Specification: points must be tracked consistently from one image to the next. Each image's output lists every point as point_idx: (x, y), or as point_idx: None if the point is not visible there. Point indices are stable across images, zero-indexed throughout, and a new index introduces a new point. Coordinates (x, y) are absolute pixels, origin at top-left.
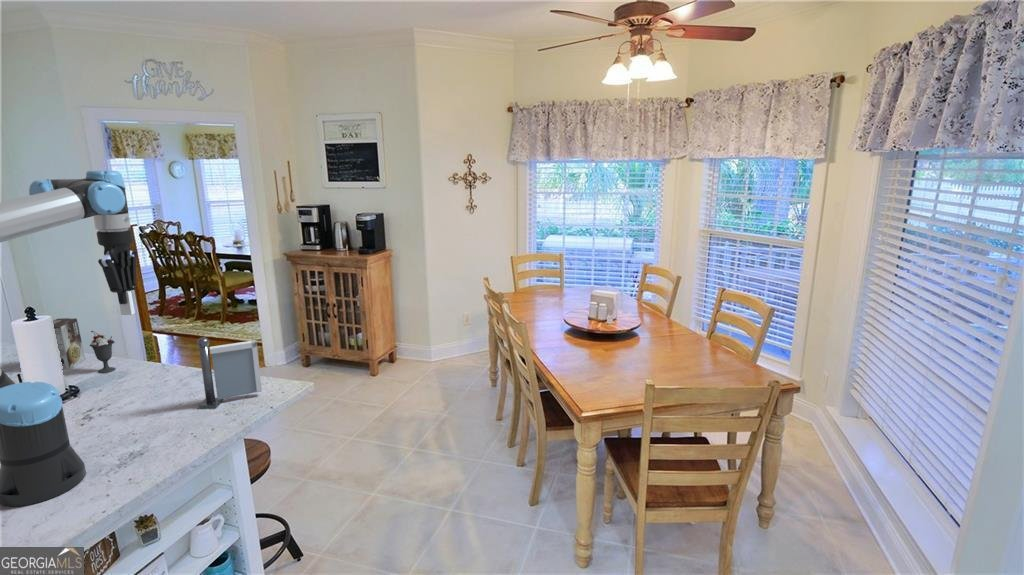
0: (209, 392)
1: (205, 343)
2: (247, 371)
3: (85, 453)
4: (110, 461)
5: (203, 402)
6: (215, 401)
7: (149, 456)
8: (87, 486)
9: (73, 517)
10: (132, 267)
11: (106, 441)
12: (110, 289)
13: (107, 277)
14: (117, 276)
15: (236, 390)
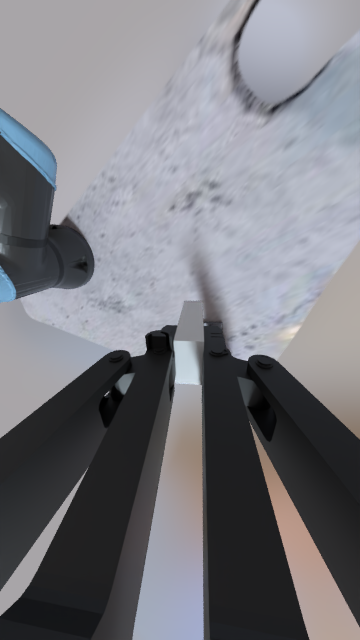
0: None
1: None
2: None
3: (114, 259)
4: (105, 291)
5: (211, 325)
6: None
7: (116, 319)
8: (72, 295)
9: (43, 309)
10: (348, 599)
11: (136, 265)
12: (99, 363)
13: (3, 453)
14: (53, 499)
15: None
